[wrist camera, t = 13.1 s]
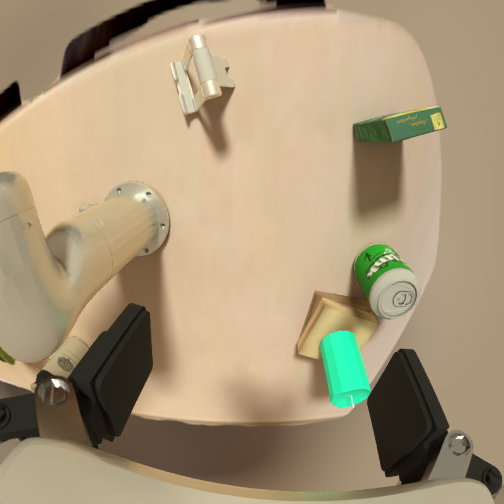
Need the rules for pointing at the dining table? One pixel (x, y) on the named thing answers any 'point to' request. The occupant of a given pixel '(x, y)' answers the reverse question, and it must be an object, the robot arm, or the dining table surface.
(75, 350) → the travel mug
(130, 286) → the dining table surface
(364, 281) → the soda can
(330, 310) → the oak block
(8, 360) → the plant pot
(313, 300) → the tan flat block
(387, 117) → the coffee box
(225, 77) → the portable electronic device stand
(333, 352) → the candle
